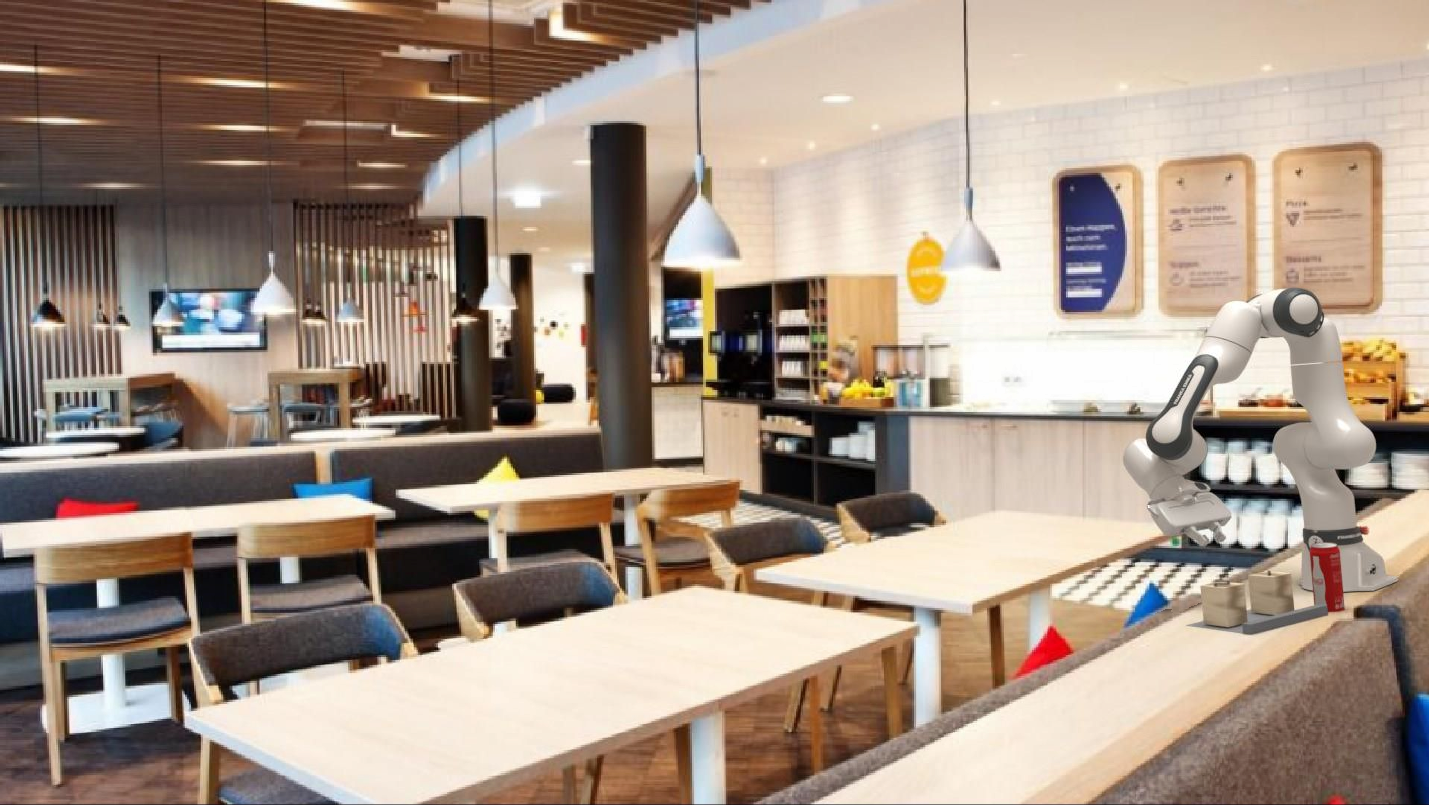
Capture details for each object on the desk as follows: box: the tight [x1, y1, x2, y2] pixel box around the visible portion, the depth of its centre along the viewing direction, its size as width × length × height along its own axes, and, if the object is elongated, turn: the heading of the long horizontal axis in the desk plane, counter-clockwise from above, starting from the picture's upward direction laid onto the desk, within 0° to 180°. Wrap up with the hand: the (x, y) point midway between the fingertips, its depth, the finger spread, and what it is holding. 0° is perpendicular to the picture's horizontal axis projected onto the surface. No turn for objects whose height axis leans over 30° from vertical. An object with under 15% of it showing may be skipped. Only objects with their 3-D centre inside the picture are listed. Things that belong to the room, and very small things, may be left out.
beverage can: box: [1310, 542, 1346, 613], centre depth 257 cm, size 6×6×15 cm
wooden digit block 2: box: [1199, 580, 1248, 627], centre depth 252 cm, size 6×6×8 cm
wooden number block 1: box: [1247, 570, 1295, 615], centre depth 259 cm, size 6×6×8 cm
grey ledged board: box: [1185, 604, 1329, 636], centre depth 254 cm, size 24×16×3 cm, turn 119°
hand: (1214, 542), depth 271 cm, fingers open, 4 cm apart
